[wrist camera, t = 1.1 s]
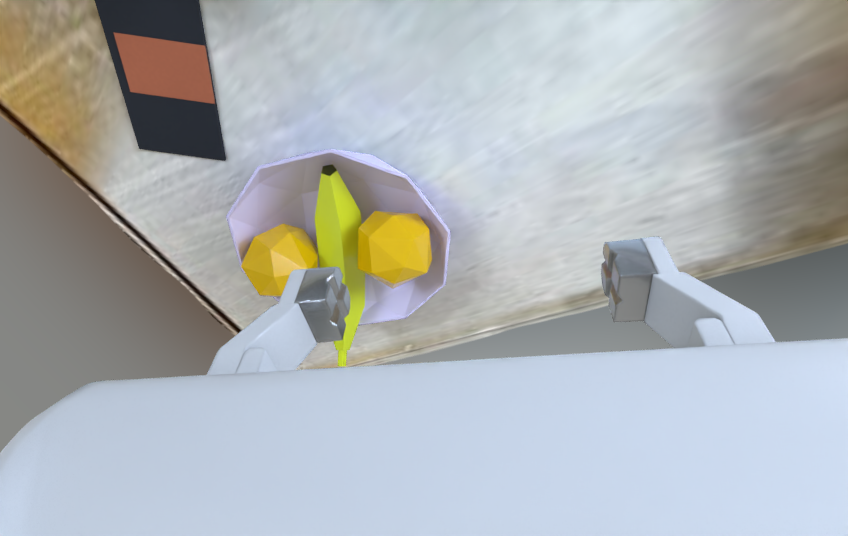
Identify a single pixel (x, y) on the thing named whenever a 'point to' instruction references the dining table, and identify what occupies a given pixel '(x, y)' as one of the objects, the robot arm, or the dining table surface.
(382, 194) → the fruit bowl
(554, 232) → the dining table surface
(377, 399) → the robot arm
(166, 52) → the mat
